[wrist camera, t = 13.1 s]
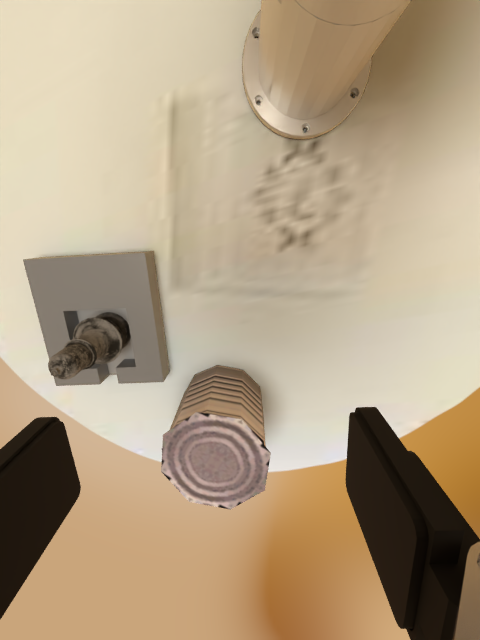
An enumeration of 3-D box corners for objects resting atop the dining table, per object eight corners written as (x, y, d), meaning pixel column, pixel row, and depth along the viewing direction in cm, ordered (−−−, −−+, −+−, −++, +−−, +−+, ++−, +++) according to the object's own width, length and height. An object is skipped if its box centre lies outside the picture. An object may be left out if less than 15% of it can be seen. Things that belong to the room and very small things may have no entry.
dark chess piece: (80, 317, 38) (7, 354, 26) (122, 304, 37) (65, 337, 26) (100, 357, 40) (38, 409, 28) (140, 345, 39) (94, 394, 27)
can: (222, 448, 44) (213, 526, 32) (166, 398, 42) (134, 463, 30) (280, 403, 41) (293, 470, 30) (224, 347, 39) (214, 396, 28)
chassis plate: (40, 257, 36) (23, 259, 33) (153, 251, 36) (144, 252, 33) (69, 374, 41) (56, 385, 38) (169, 371, 40) (163, 381, 37)
